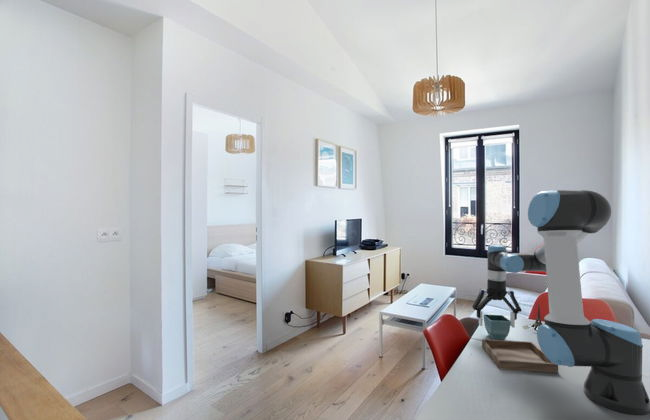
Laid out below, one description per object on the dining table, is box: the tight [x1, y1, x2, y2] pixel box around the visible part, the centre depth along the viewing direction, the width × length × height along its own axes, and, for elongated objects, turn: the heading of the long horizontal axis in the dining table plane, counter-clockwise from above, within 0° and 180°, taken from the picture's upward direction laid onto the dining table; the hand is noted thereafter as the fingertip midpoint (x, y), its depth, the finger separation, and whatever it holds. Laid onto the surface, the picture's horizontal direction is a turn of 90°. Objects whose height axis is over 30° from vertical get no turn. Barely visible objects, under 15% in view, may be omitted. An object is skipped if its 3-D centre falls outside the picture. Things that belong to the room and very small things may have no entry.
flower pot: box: [482, 314, 511, 340], centre depth 148 cm, size 9×9×9 cm
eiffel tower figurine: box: [522, 303, 544, 335], centre depth 158 cm, size 15×10×13 cm
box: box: [481, 338, 559, 374], centre depth 127 cm, size 20×20×3 cm
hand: (496, 325), depth 148 cm, fingers open, 13 cm apart
